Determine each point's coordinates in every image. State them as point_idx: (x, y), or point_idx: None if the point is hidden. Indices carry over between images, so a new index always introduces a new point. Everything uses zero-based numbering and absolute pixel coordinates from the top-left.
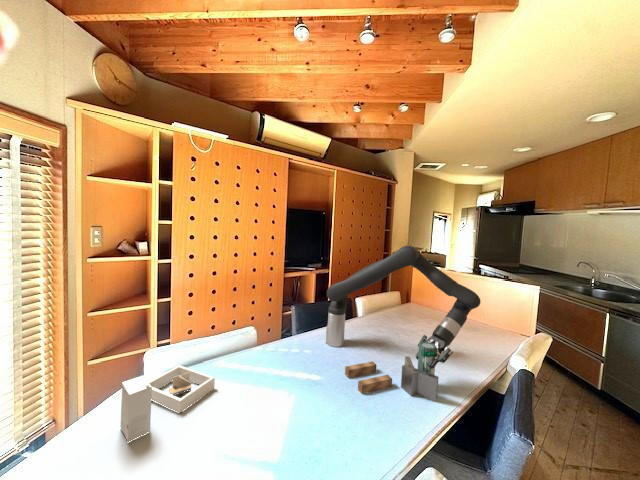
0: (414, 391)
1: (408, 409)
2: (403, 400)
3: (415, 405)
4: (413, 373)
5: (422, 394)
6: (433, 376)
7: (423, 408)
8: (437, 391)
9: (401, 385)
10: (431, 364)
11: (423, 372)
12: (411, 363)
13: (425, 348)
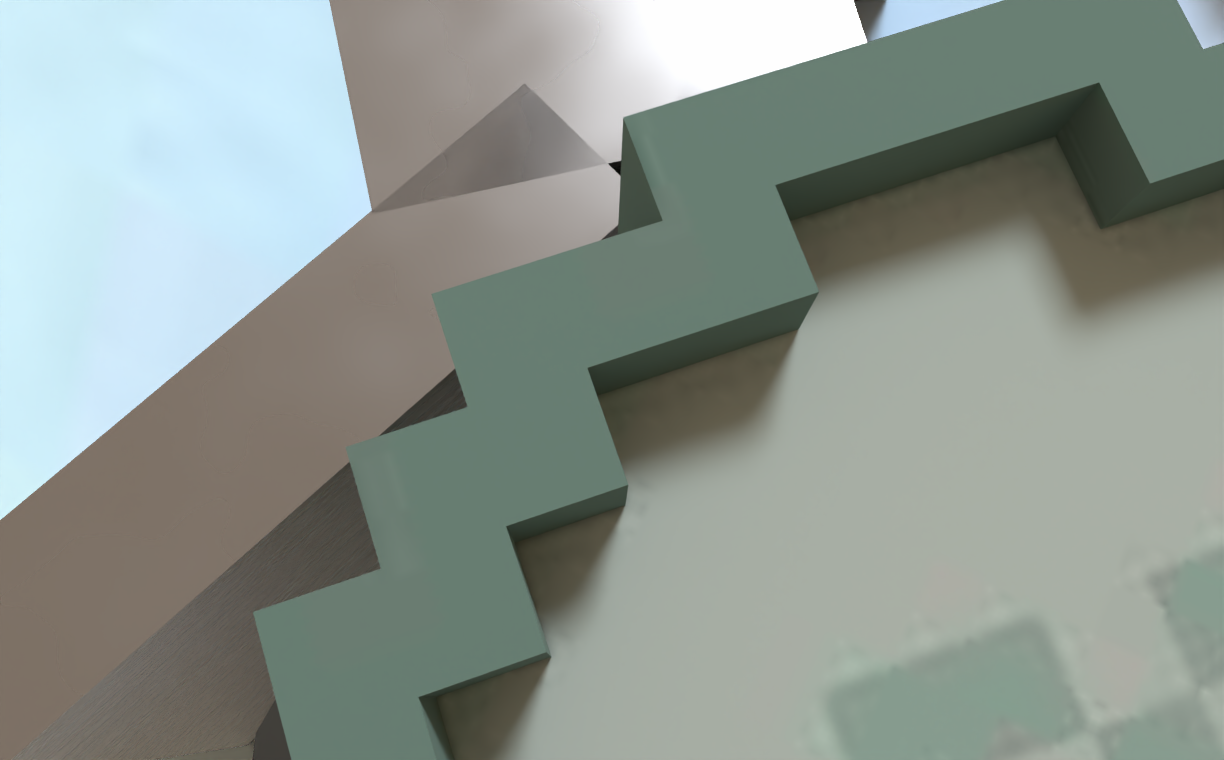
0: None
1: (107, 43)
2: (342, 65)
3: (176, 210)
4: (336, 17)
5: None
6: (36, 590)
7: (71, 314)
8: (182, 753)
9: None
10: None
11: (335, 367)
12: None
13: (594, 286)
